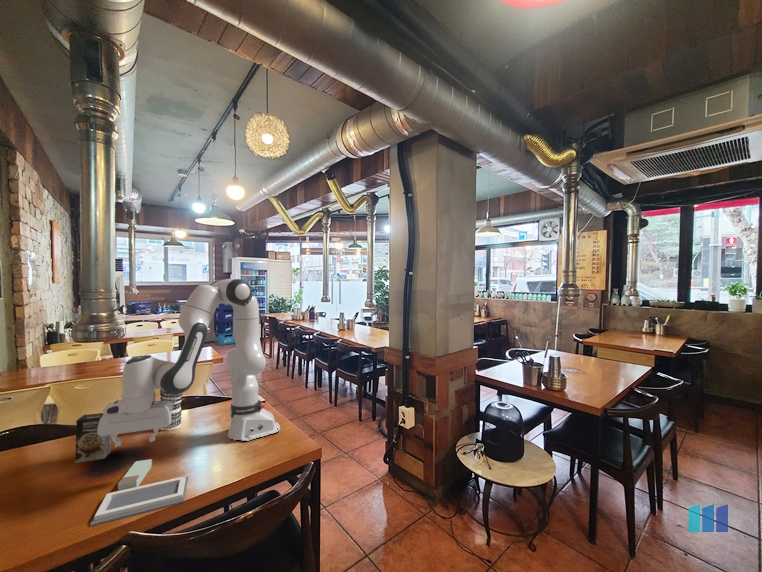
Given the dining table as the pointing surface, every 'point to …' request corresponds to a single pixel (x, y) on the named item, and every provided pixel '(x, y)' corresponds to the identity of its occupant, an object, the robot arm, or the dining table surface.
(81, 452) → the coffee box
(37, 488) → the dining table surface
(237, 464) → the dining table surface
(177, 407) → the decorative candle
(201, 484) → the dining table surface
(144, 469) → the pale green rectangular block
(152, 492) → the picture frame
